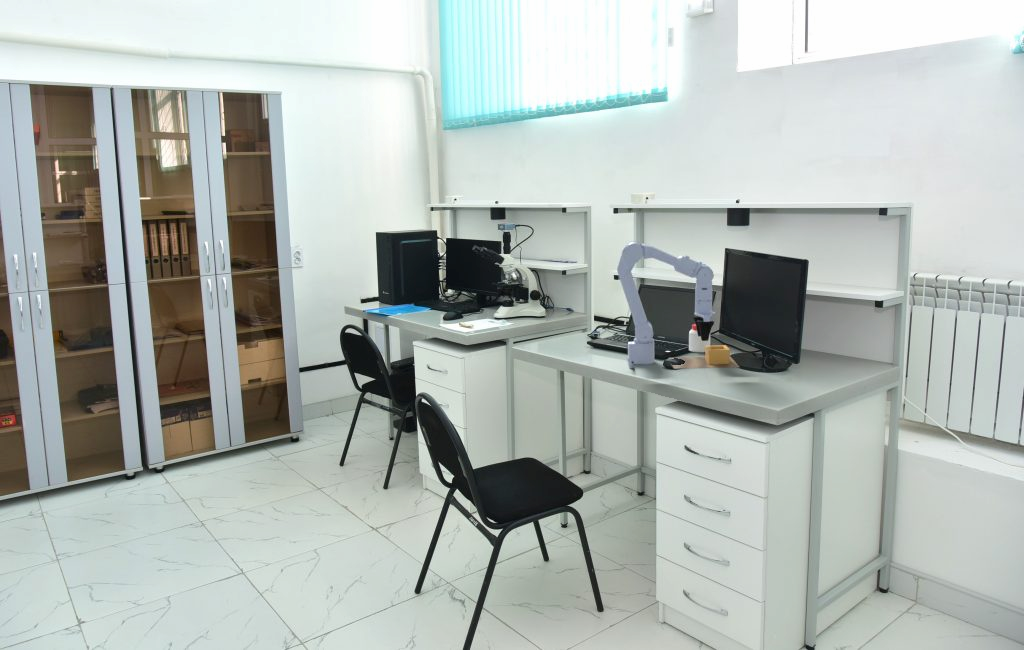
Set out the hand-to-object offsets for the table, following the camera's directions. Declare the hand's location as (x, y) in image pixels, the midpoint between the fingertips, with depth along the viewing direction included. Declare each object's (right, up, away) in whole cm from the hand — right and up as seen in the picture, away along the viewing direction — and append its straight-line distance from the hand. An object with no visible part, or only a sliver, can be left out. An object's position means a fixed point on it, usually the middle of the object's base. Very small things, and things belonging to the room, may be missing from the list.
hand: (703, 338), depth 265 cm
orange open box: (+5, -8, 0) cm, 10 cm away
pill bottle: (+4, -6, +20) cm, 21 cm away
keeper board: (0, -10, 0) cm, 10 cm away
